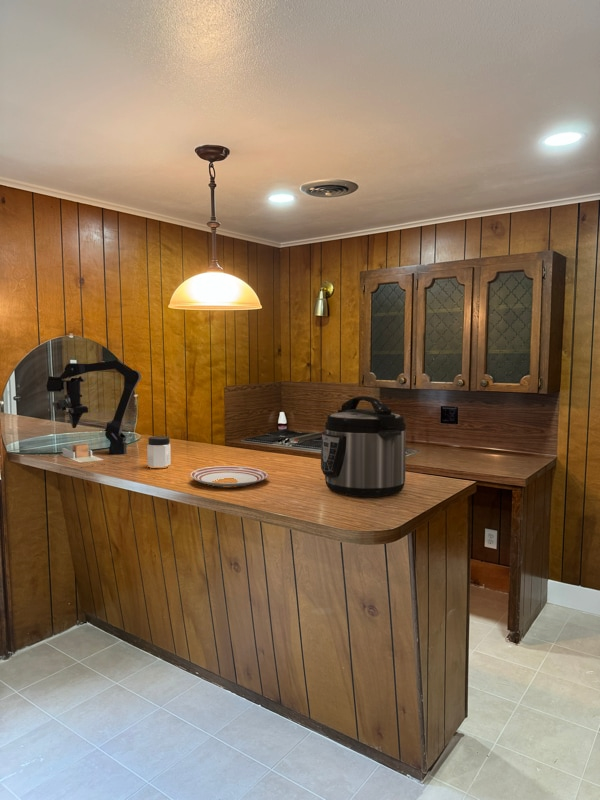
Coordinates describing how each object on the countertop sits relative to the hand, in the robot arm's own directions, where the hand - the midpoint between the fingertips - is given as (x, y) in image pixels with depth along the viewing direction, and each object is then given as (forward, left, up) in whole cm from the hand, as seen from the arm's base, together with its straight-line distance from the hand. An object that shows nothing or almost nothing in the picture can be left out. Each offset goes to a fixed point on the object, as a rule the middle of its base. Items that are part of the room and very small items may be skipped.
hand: (74, 428), depth 240 cm
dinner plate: (-76, +38, -13) cm, 86 cm away
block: (-5, +5, -11) cm, 14 cm away
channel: (-6, +6, -13) cm, 15 cm away
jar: (-43, +16, -13) cm, 48 cm away
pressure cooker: (-123, +45, -13) cm, 132 cm away
